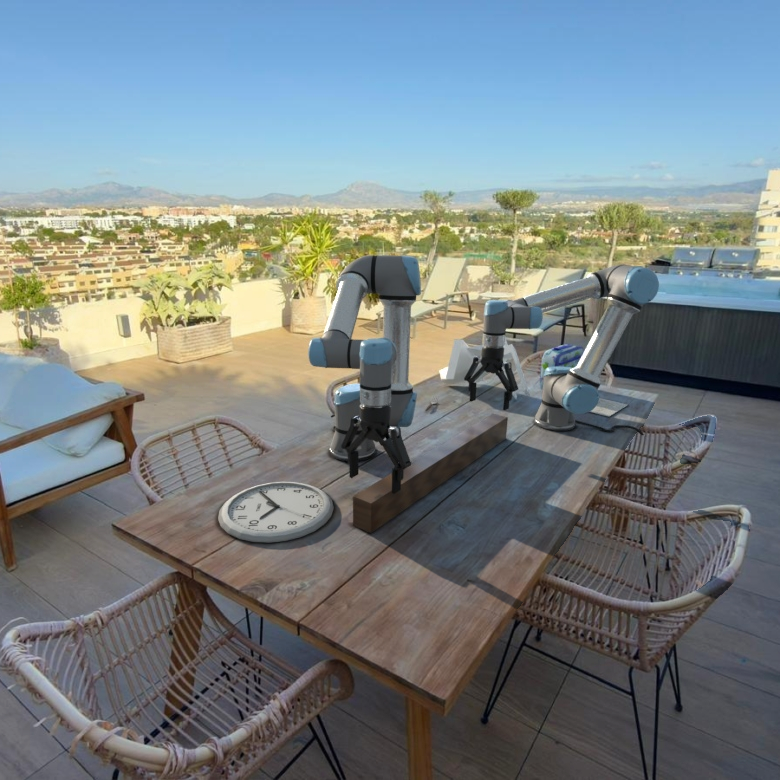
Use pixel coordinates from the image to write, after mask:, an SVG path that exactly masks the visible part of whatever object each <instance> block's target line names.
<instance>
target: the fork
mask: <svg viewBox="0 0 780 780" xmlns="http://www.w3.org/2000/svg"><path fill="white" fill-rule="evenodd" d="M438 401H439V398H438V397H435V396H433V398H432V399H431V401H430V404H429V405H428V406H427V408H426V409H425V412H427V411H428V410H429V409H431V408H432V406H433V405H437V404H438Z"/></svg>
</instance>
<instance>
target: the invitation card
mask: <svg viewBox="0 0 780 780" xmlns="http://www.w3.org/2000/svg"><path fill="white" fill-rule="evenodd" d="M628 406H629V404H627V403H623V402H618V401H614V400H609V399H605V398H601V397H599V401H598V403H597V405H596V407H595V408H594V409H593V410H591V411H590V412H589V413H593V414H596V415H600V416H604V417H608V418H609V417H611V416H613V415H614V414H616V413H617V412H619V411H621V410H623V409H624V408H626V407H628Z"/></svg>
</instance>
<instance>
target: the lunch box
mask: <svg viewBox="0 0 780 780" xmlns="http://www.w3.org/2000/svg"><path fill="white" fill-rule="evenodd" d="M584 351H585V349H584V347H583V346H580V345H579V346H578V345H573V344H562V345H558V346H554V347H552V348H549V349H546V351H545V352H544V353H543V354H542V358H541V363H540V373H539V374H540V375H539V377H540V378H539V389H540V390H542V391H543V381H544V373H545V370H546V368H548V367H571V368H575V367H576V366H577V364H578V362H579V360H580V358H581V356H582V355H583V353H584Z"/></svg>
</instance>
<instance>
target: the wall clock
mask: <svg viewBox="0 0 780 780" xmlns="http://www.w3.org/2000/svg"><path fill="white" fill-rule="evenodd" d="M334 507H335V506H334V503H333V500H332V499H331V497H330V496H329V494H328V493H326V492H325V491H324V490H321V489H320V488H319V487H316V486H313V485H310V484H307V483H301V482H296V481H275V482H268V483H262V484H258V485H255V486H254V485H253V486H252V487H248V488H245V489H243V490H241V491H240V492H238V493H236V494H234V495H232V496H231V497H230V498H228V499H227V500H226V501H225V502H224V503H223V505H222V506H221V507H220V509H219V511H218V517H217V520H218V523H219V525H220V528H221V529H222V530H223V531H225V533H226V534H228V535H230V536H232V537H234V538H237V539H239V540H243V541H248V542H252V543H267V544H268V543H278V542H286V541H291V540H295V539H299V538H302V537H305V536H307V535H309V534H311V533H314V532H316V531H317V530H319V529H321V528H322V527H323V526H325V525H326V524H327V522H328V521H329V520H330V519H331V517H332V515H333V511H334Z"/></svg>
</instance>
